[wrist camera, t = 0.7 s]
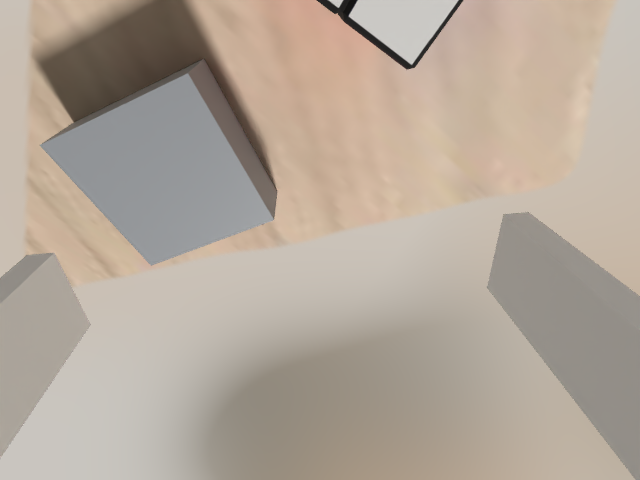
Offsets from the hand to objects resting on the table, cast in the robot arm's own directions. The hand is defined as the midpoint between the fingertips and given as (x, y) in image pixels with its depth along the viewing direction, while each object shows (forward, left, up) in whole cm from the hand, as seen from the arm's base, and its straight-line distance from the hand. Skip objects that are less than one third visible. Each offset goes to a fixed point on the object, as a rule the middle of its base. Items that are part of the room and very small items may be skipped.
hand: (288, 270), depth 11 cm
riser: (+13, +2, -23) cm, 27 cm away
